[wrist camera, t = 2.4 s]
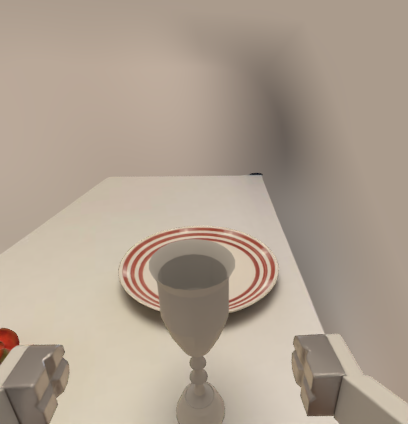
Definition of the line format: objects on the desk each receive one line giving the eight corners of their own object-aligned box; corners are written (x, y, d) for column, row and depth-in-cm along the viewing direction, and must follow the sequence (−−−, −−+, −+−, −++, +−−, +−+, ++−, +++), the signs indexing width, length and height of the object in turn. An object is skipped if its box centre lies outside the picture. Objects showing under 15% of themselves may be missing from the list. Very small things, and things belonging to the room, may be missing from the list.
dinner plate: (265, 237, 64) (266, 223, 62) (294, 333, 38) (297, 314, 37) (143, 237, 65) (141, 224, 64) (94, 330, 40) (90, 311, 39)
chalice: (245, 433, 28) (251, 277, 21) (176, 461, 26) (156, 300, 19) (218, 369, 34) (216, 233, 27) (161, 387, 32) (142, 247, 25)
